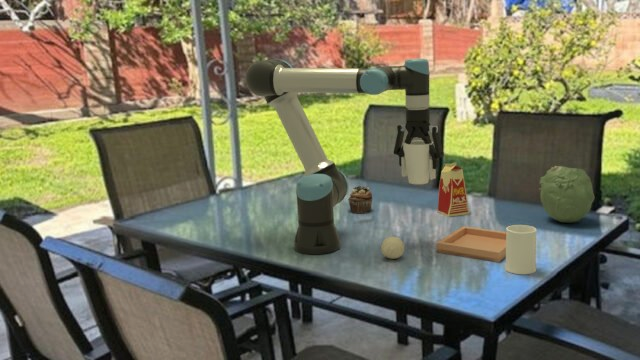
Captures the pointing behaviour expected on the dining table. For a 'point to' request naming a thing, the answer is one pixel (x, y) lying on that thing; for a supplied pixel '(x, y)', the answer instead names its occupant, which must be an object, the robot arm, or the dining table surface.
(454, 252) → the tray
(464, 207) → the milk carton
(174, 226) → the dining table surface
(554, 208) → the cabbage
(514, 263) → the mug
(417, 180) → the foam cup
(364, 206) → the cupcake
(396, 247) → the beige ball
